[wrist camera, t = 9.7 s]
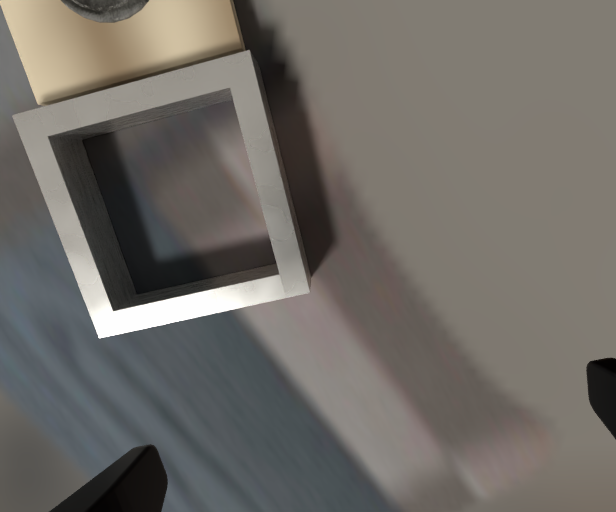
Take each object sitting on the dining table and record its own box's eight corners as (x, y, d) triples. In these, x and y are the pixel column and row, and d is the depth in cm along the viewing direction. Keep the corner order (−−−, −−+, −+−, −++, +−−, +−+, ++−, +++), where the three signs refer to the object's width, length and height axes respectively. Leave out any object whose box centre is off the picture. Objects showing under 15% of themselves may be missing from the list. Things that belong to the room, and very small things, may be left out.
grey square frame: (259, 65, 18) (249, 49, 16) (311, 277, 21) (310, 292, 18) (50, 121, 19) (11, 115, 17) (124, 318, 22) (99, 338, 19)
